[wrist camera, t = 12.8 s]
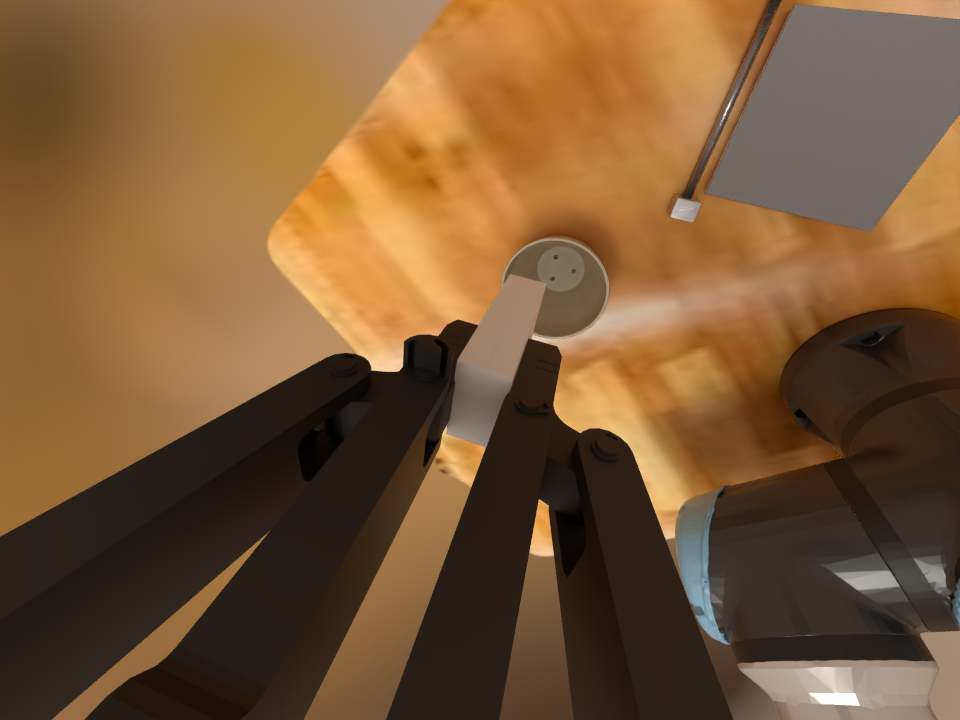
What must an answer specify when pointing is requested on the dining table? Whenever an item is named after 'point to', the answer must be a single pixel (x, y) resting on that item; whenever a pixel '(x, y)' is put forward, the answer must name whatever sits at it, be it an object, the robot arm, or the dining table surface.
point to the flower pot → (563, 284)
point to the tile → (843, 114)
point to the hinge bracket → (721, 122)
